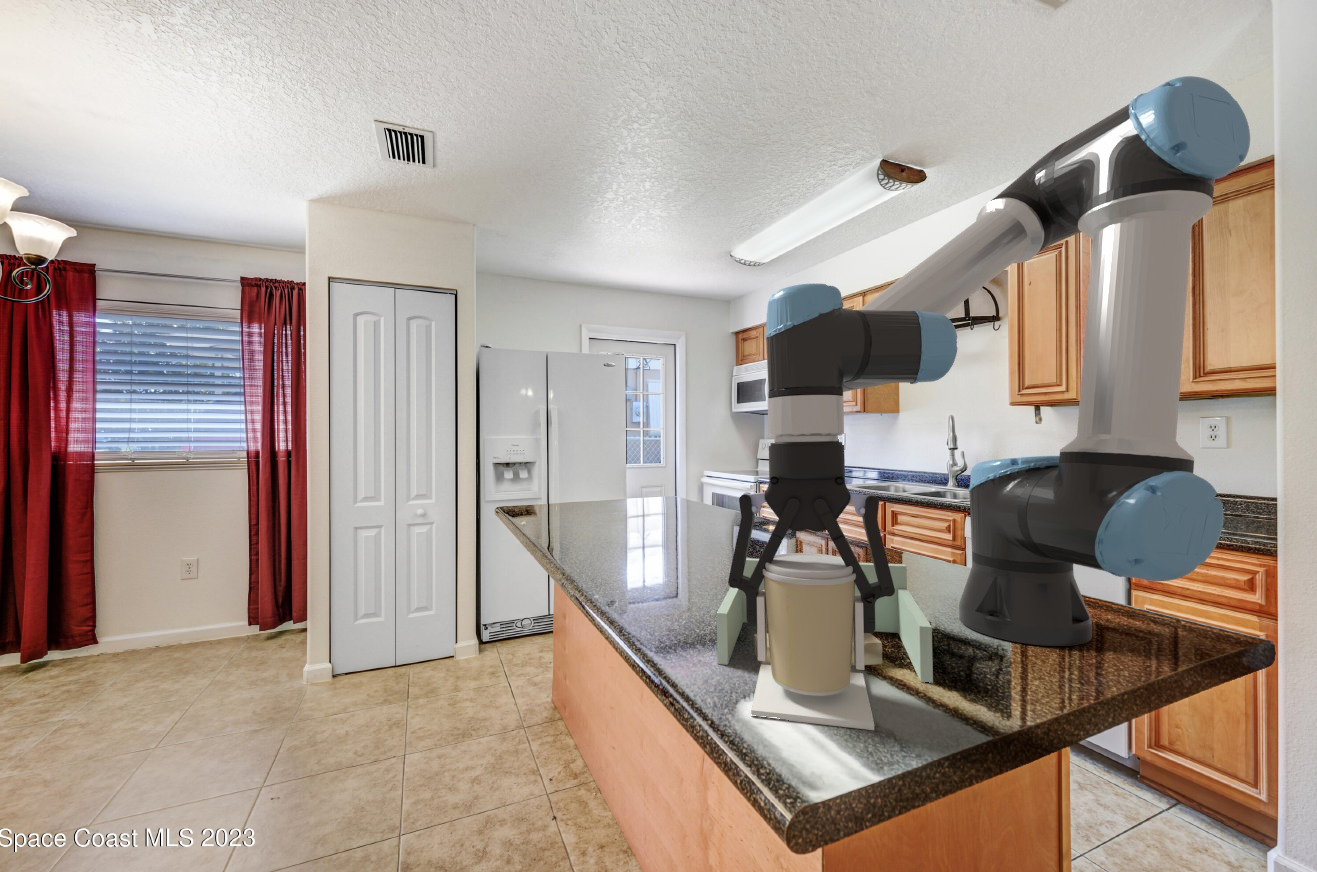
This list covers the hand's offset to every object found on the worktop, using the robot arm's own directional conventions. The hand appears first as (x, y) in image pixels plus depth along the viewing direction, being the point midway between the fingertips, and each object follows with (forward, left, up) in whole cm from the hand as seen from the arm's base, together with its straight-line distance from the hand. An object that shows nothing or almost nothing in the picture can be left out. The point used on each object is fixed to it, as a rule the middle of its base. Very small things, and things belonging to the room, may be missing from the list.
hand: (809, 659), depth 56 cm
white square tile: (0, 0, -4) cm, 4 cm away
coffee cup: (0, 0, -2) cm, 2 cm away
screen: (-1, -14, -4) cm, 15 cm away
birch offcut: (-1, -10, -4) cm, 11 cm away
